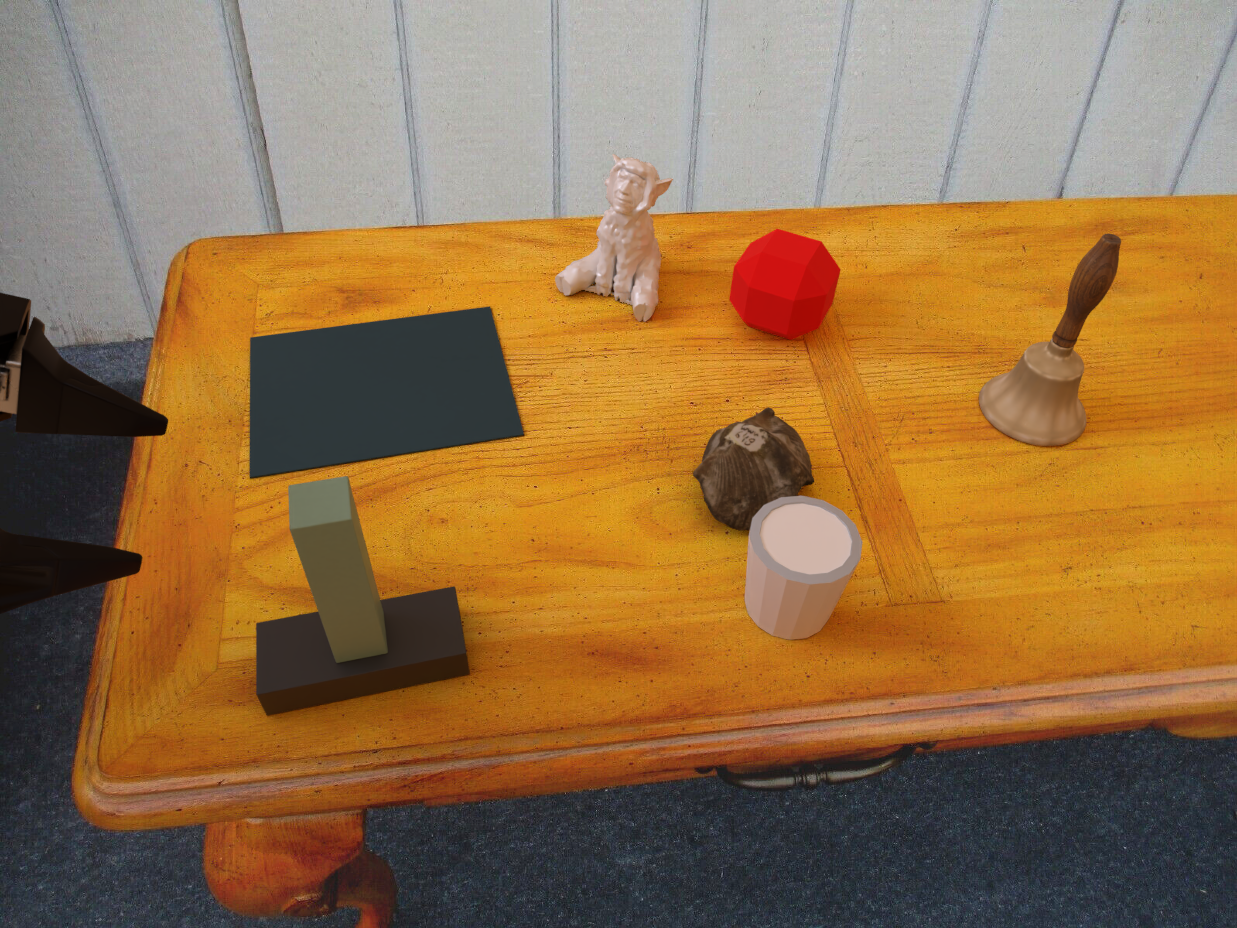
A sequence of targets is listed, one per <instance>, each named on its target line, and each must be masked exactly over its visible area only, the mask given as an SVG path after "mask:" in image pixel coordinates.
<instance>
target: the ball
mask: <svg viewBox="0 0 1237 928" xmlns="http://www.w3.org/2000/svg"><path fill="white" fill-rule="evenodd" d="M841 270H842V269H841V268H840V266H839V265H838V263H837V262H836V261H835V259H834V258H833V256H832V254H831V253H830V252H829V250H828V248H827V247H826V246H825V244H824V243H823V242H822V240H818V239H815V238H811V237H808V236H804V235H802V234H797V233H794V232H791V231H787V230H783V229H780V228H775V229H774V230H772V231H770V232H768V233H766V234H764V235H763V236H760V237H759V238H757V239H755V240H753V241H752V242H750V243H749V244H748V245H747V247H746V248H745V250H744V251H743V253H742V254H741V255H740V257H739V259H738V260H737V261H736V263H735V264H734V265H733V270H732V271H733V272H732V276H731V277H732V278H731V285H730V291H729V298H728V301H729V302H730V303H731V305H732V307H733V308H734V310H735V312H736V313H737V314H738V315H739V317H740V319H741V320H742V321H743V323H745V325H746V326H747V327H749V328H752V329H754V330H758V331H761V332H764V333H768V334H771V335H773V336H777V337H780V338H783V339H786V340H789V341H793V340H795V339H797V338H799V337H802V336H804V335H807V334H809V333H811V332H814V331H816V330H818V329H820V327H821V325H822V323H823V321H824V320H825V318H826V316H827V314H828V313H829V311H830V309H831V307H832V305H833V304H834V303H833V302H834V299H835V294H836V290H837V287H838V282H839V279H840V275H841V272H842V271H841Z"/></svg>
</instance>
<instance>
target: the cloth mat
mask: <svg viewBox="0 0 1237 928" xmlns="http://www.w3.org/2000/svg"><path fill="white" fill-rule="evenodd" d="M249 340H250V341H249V479H255V478H261V477H269V476H275V475H280V474H286V473H287V474H288V473H293V472H301V471H308V470H313V469H318V468H324V467H325V468H327V467H331V466H332V467H333V466H339V465H345V464H350V463H356V462H363V461H370V460H375V459H377V460H378V459H382V458H389V457H395V456H402V455H408V454H415V453H421V452H427V451H433V450H434V451H435V450H440V449H441V450H442V449H446V448H453V447H459V446H460V447H461V446H466V445H472V444H478V443H484V442H491V441H498V440H505V439H509V438H517V437H522V436H525V432H524V428H523V425H522V421H521V418H520V414H519V410H518V405H517V402H516V398H515V395H514V391H513V387H512V384H511V380H510V376H509V371H508V368H507V365H506V360H505V357H504V354H503V349H502V345H501V343H500V338H499V335H498V331H497V327H496V323H495V320H494V315H493V312H492V308H491V305H490V306H489V305H488V306H482V307H475V308H465V309H460V310H459V309H458V310H452V311H444V312H436V313H435V312H434V313H427V314H421V315H412V316H405V317H397V318H388V319H380V320H374V321H365V322H359V323H350V324H343V325H335V326H326V327H319V328H312V329H305V330H296V331H289V332H281V333H274V334H265V335H257V336H250V337H249Z"/></svg>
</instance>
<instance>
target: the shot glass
mask: <svg viewBox="0 0 1237 928" xmlns="http://www.w3.org/2000/svg"><path fill="white" fill-rule="evenodd" d="M748 532H749V533H748V542H747V555H746V556H747V558H746V570H745V572H746V573H745V585H744V586H745V587H744V604H745V608H746V612H747V615H748V616H749V617H750V618H751V620H752V621H753V622H754V624H755V625H756V626H757V627H758V628H759V629H761V630H762V631H764V632H766V633H767V634H769V635H771V636H772V637H776V638H779V639H780V638H781V639H784V640H788V641H791V640H802V639H808V638H810V637H811V636H813V635H815V634H817V633H819V632H821V630H822V629H823V628H824V627H825V625H826V624H827V622H828V621H829V619H830V617H831V616H832V613H833V612H834V610H835V608H836V607H837V605H838V602H839V601H840V599H841V597H842V595H843V593H844V591H845V589H846V587H847V585H848V583H849V582H850V580H851V578H852V576H853V575H854V572H855V570H856V568H857V567H858V565H859V563H860V561H861V558H862V551H863V549H862V548H863V539H862V538H861V536H860V532H859V529H858V527H857V524H856V523H855V522H854V521H853V520H852V519H851V518H850V517H849V516H848V515H847V514H846V513H845V512H844V511H843V510H842V509H840V508H838V507H837V506H834V505H833V504H831V503H829V502H828V501H825V500H824V499H820V498H815V497H810V496H806V495H797V496H791V497H781V498H778V499H776V500H774V501H772V502H770V503H767V504H765V505H763V507H762V508H761V509H760V510H759V511H758V512H757V513H756V515H755V516H754V517H753V518H752V523H751V527H750V530H749V531H748Z"/></svg>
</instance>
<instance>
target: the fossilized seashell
mask: <svg viewBox="0 0 1237 928" xmlns="http://www.w3.org/2000/svg"><path fill="white" fill-rule="evenodd" d="M775 412H776V411H775V410H774V409H773V408H771V407H769V406H768V407H766V408H764V409H763V410H761V411H760V412H758V413H756V414H755V415H753V416H750V417H748V418H746V419H744V420H742V421H735V422H733V423H730V424H728V425H727V426H726V427H723V428H719V429H717V430H715V431H714V432H713V433H712V435H711V436H710V437H709V439H708V441H707V443H706V446H705V449H704V451H703V455H702V458H701V463H699V464H698V466H697V467H696V468H695V469H694V470H693V472H692V476H693V477H694V478H695V479H696V481H697V482H698V483H699V487H700V489H701V492H702V494H703V500H704V503H705V505H706V507H707V509H708V511H709V513H710V514H711V515H712V517H713V518H714V519H715V520H716V521H717V522H720V523H721V524H722V525H725V526H726V527H729V528H731V529H733V530H737V531H750V527H751V523H752V518H753V517H754V516H755V515H756V513H757V512H758V511H759V510H760V509H761V508H762V507H763V505H765V504H767V503H770V502H772V501H774V500H776V499H778V498H781V497H791V496H799V493H800V492H801V490H802V488H804V487H807V486H811V485H813V484H814V483H815V478H814V476H813V471H812V466H813V465H812V462H811V456H810V454H809V452H808V450H807V448H806V446H805V443H804V441H803V439H802V437H801V435H800V433H798V431H797V430H796V429H795V428H794V426H792V425H790V424H789V423H787V422H786V421H784V420H783V419H782V418H780V417H779V416H777V415H776V413H775Z"/></svg>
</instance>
